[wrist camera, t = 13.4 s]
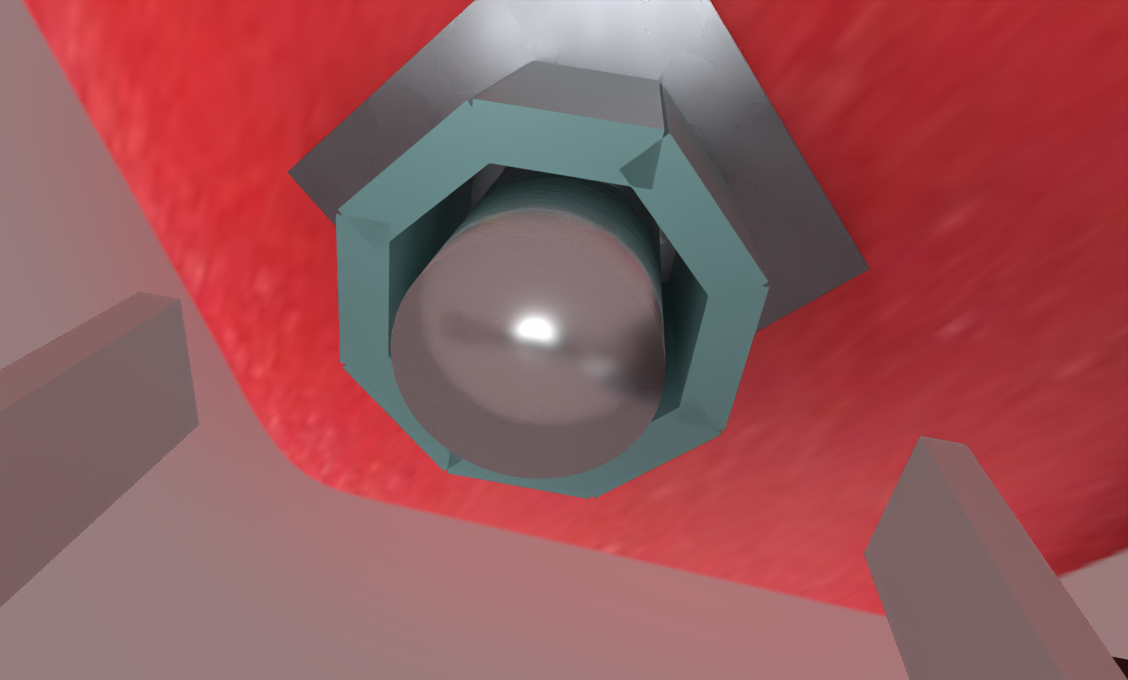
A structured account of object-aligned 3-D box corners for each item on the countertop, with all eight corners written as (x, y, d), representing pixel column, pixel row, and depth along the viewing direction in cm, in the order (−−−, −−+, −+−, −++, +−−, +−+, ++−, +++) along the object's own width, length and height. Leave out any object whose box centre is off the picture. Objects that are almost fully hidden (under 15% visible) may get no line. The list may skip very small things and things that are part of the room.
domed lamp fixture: (861, 258, 23) (1019, 456, 13) (543, 438, 28) (487, 677, 18) (627, -133, 18) (605, -269, 9) (300, 165, 23) (57, 288, 14)
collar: (753, 95, 20) (811, 153, 13) (683, 366, 24) (697, 518, 17) (441, 46, 20) (331, 75, 13) (429, 321, 25) (342, 454, 18)
